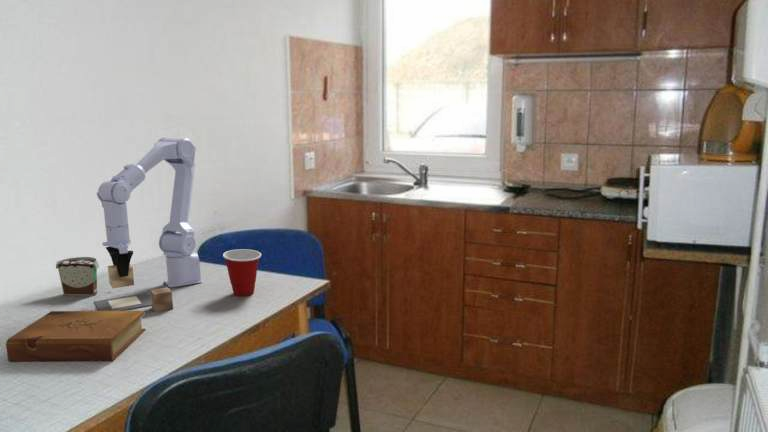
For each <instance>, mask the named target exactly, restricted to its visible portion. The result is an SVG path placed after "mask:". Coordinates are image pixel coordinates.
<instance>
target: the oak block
mask: <svg viewBox="0 0 768 432" xmlns="http://www.w3.org/2000/svg"><path fill="white" fill-rule="evenodd" d="M107 270H108V271H107V272H108V280H109V283H108V284H109V285H110V286H111V288H112V289H119V288H125V287H132V286H135V281H134V280H135V279H134V269H133V266H132V265H131V264H129V273H128V276H125V277H120V276H119V274H118V271H117V267H116V265H113V264H112V265H108V266H107Z"/></svg>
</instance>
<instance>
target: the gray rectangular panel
mask: <svg viewBox="0 0 768 432" xmlns="http://www.w3.org/2000/svg"><path fill="white" fill-rule="evenodd" d="M94 304H95V306H96V308H97V311H131V310H135V309H140V308H145V307H151V306H152V299H151V295H149V294H148V293H147V292H141V293H137V294H129V295H124V296H117V297H111V298H105V299H99V300H94Z"/></svg>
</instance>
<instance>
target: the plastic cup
mask: <svg viewBox="0 0 768 432" xmlns="http://www.w3.org/2000/svg"><path fill="white" fill-rule="evenodd" d="M222 257H223V258H224V261H225V265H226V269H227V271H228V272H227V273H228V277H229V281H230V285H231V289H232V293H233V295H234V296H238V297H246V296H250V295H253V294H254V293H255V289H256V282H257V280H256V279H257V273H258V272H257V271H258V266H259V262H260V259H261V257H262V253H261V252H259V251H258V250H254V249H249V248H248V249H247V248H246V249H245V248H242V249H241V248H239V249H231V250H227V251H225V252H223V254H222Z"/></svg>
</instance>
